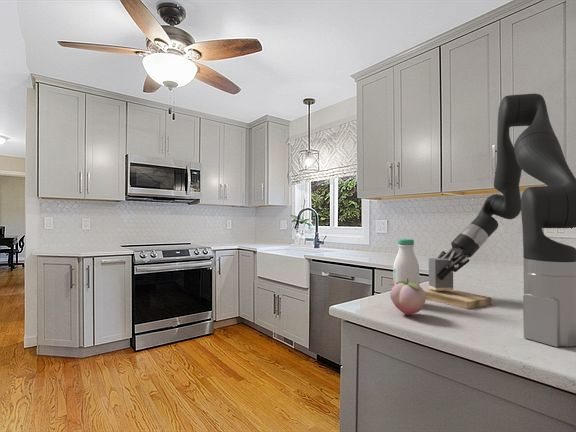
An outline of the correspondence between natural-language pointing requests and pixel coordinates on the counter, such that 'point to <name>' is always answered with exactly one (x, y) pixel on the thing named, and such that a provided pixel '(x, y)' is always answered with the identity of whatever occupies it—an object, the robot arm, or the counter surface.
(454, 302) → the oak board
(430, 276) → the block
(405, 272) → the milk bottle
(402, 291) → the decorative fruit
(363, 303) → the counter surface
